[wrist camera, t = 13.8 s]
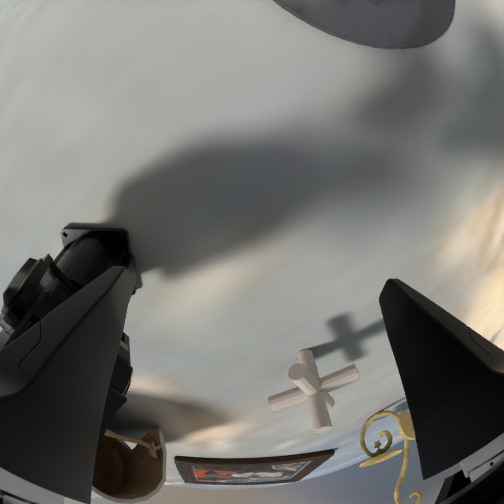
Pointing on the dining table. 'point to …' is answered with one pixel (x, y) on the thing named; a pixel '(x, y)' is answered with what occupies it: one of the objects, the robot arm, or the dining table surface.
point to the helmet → (129, 467)
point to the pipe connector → (313, 389)
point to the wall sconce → (408, 433)
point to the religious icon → (249, 469)
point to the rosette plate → (376, 20)
